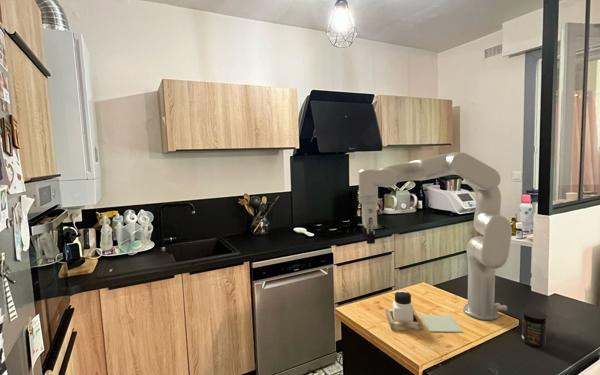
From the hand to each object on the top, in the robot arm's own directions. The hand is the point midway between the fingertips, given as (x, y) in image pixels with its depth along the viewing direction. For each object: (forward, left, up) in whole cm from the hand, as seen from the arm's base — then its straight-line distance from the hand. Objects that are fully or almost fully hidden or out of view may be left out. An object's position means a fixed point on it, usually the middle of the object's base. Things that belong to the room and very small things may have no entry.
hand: (368, 240), depth 133 cm
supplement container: (-53, +21, -31) cm, 65 cm away
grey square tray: (-12, +8, -31) cm, 34 cm away
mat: (-26, +9, -31) cm, 41 cm away
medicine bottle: (-12, +8, -31) cm, 34 cm away
